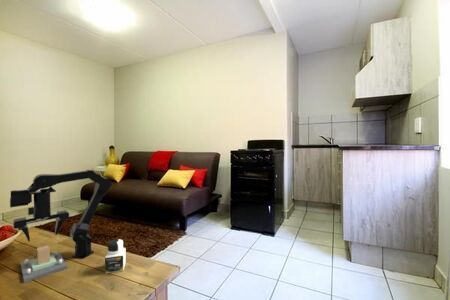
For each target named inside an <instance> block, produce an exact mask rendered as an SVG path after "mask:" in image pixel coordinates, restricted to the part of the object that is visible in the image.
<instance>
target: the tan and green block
mask: <svg viewBox="0 0 450 300" xmlns="http://www.w3.org/2000/svg"><path fill="white" fill-rule="evenodd" d="M50 254H51V248H50V246H49V245H45V246H44V245H43V246H40V247H37V248H36V258H37V260H35V261H31V266H32V270H33V271H36V270H39V269H42V268H45V267H49V266H52V265H55V264H57V261H56V259H55V257H54V255H52V256H50Z"/></svg>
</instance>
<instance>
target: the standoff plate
mask: <svg viewBox="0 0 450 300" xmlns="http://www.w3.org/2000/svg"><path fill="white" fill-rule="evenodd" d="M52 255H54V257H55V259H56V261H57V264H55V265H52V266H49V267H45V268H42V269H39V270H36V271H33V270H32V266H31V261H35V260H37V257H36V258H33V259H28V258H26V259H24V261H21V262H20V269H21V273H22V278H23V279H22V280H23V283H27V282H31V281H33V280H36V279H39V278H42V277H45V276H48V275H51V274H53V273H57V272H60V271H63V270H66V269H68V265H67V263H66V261H65V260H64V258H63V256H62V255H61V253H60V251H58V250H55V251H54V252H53V253H50V256H52Z"/></svg>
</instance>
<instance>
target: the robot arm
mask: <svg viewBox="0 0 450 300" xmlns="http://www.w3.org/2000/svg"><path fill="white" fill-rule="evenodd" d="M85 179H87V180H88V179H90V180H91V181H92V182H94V183H95V185H94V189H93V194H92V196H91V198H90V200H89V202H88V203H87V206H86V209H85V210H84V213H83V214H82V216H81V217H80V220H79V221H78V222H77V223H76V222H74V223H72V226H71V228H70V230H69V236H70V238H71V239H72V241H73V242H74V243H75V245H74V254H73V255H72V257H73V258H77V259H85V258H86V257H88V256H91V254H94V252H95V251H94V250H92V241H93V238H92V237H91V236H90V235H89V233H88V232H89V229H90V224H91V221H92V219H93V217H94V216H95V213H96V211H97V209H98V206H99V204H100V203H101V200H102V199H103V197H104V196H105V195H106V194H107V193H108V192H109V190H110V189H111V188H112V185H113V182H112V180H111V179H109V178H107V177H104V176H101V175H100V174H98V173H96V172H95V171H94V170H93V169H86V170H82V171H73V172H68V173H61V174H60V173H58V174H53V173H50V174H49V173H46V174H45V173H41V174H37V175H36V176H34V177H33V180H32V183H31V185H29V186H28V188H27V189H20V190H10V198H9V207H10V208H17V207H24V206H29V204H31V203H32V202H33V207H28V208H27V215H28V216H32V218H26V216H24V217H20V218H14V219H13V220H12V226H13V229H14V230H16V229H17V230H18V231H22V232H23V233H24V235H25V237H26V239H27V241H28V242H30V241H31V238H30V232H29V228H28V224H33V223H39V222H44V221H49V220H54V219H55V228H54V235H55V236H57V235H58V232H59V230H60V228H61V227H62V224H63V223H64V222H66V220H68V219H70V213H69V211H67V210H66V209H65V210H60V211H59V210H58V211H56V213H55V214H52V213H51V211H52V209H51V206H52V205H51V193H55V192H56V191H57V190H56V189H55V188H53V187H54V186H56V185H59V184H61V183H66V182H67V183H68V182H74V181H75V182H76V181H78V180H79V181H81V180H85ZM32 195H33V197H32ZM32 198H33V199H32Z"/></svg>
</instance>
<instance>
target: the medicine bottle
mask: <svg viewBox="0 0 450 300" xmlns="http://www.w3.org/2000/svg"><path fill="white" fill-rule="evenodd" d="M126 256H127V252H126V247H124V241H123V239H119V238H118V239H117V238H116V239H112V240H111V241H109V242H108V243H107V252H106V254H105V257H104V273H105V274H111V273H117V272H123V271H124V270H125V266H126V260H127V258H126Z"/></svg>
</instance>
